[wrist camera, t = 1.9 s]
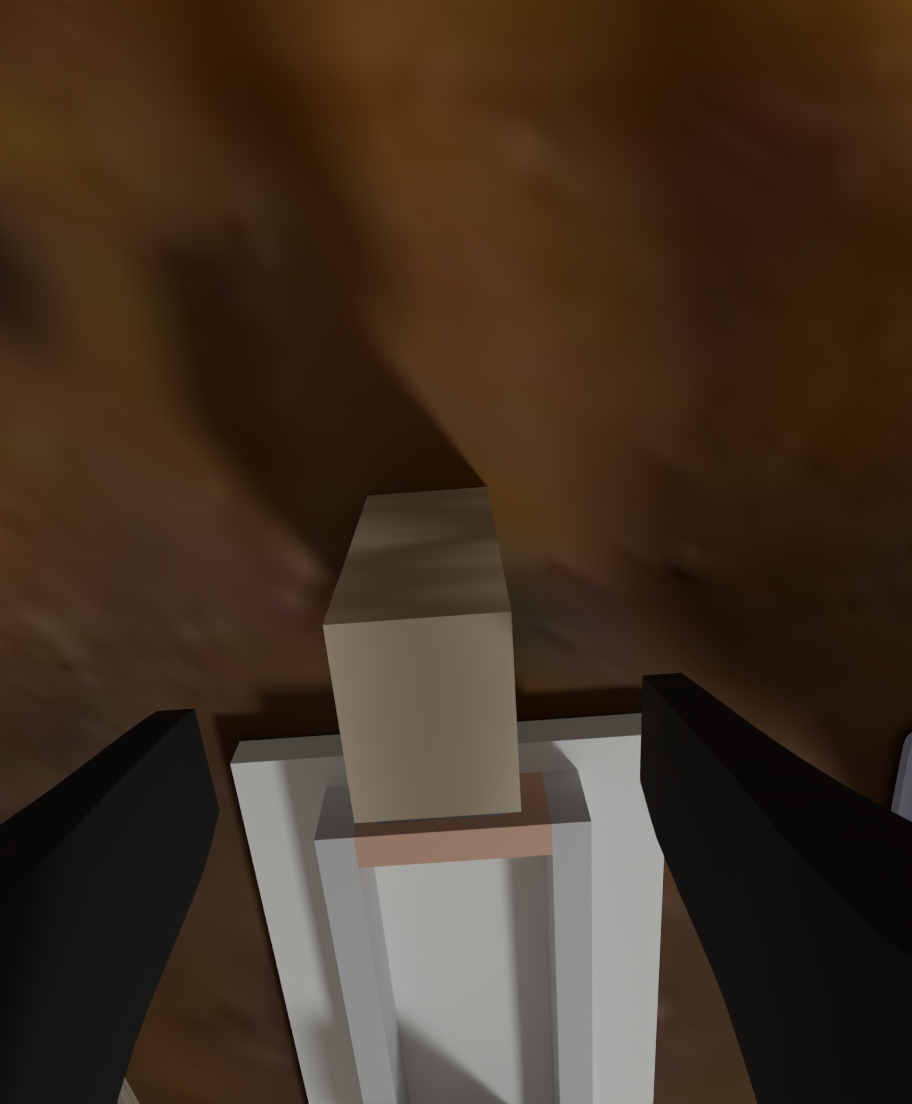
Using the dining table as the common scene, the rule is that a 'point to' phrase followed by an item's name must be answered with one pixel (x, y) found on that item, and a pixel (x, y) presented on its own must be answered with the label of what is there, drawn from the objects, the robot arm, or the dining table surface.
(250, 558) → the dining table surface
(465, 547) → the block
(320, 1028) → the rail
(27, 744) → the dining table surface
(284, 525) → the dining table surface
